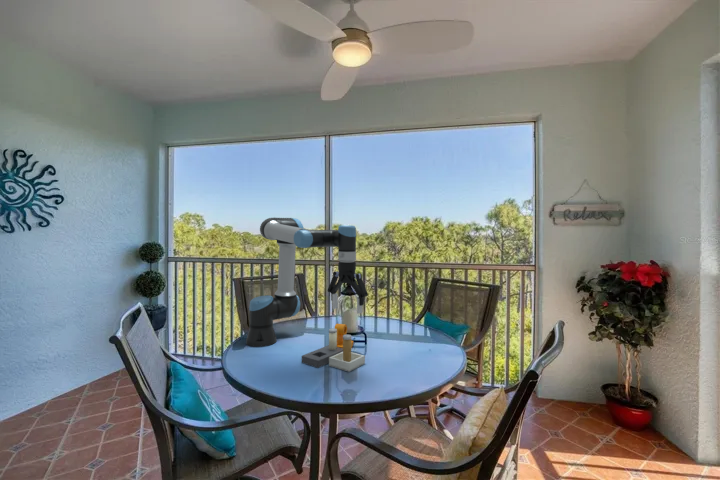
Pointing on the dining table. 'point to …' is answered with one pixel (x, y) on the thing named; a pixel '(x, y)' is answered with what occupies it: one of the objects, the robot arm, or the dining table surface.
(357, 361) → the parts tray
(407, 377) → the dining table surface
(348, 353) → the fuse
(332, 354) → the fuse block
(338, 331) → the bracket
